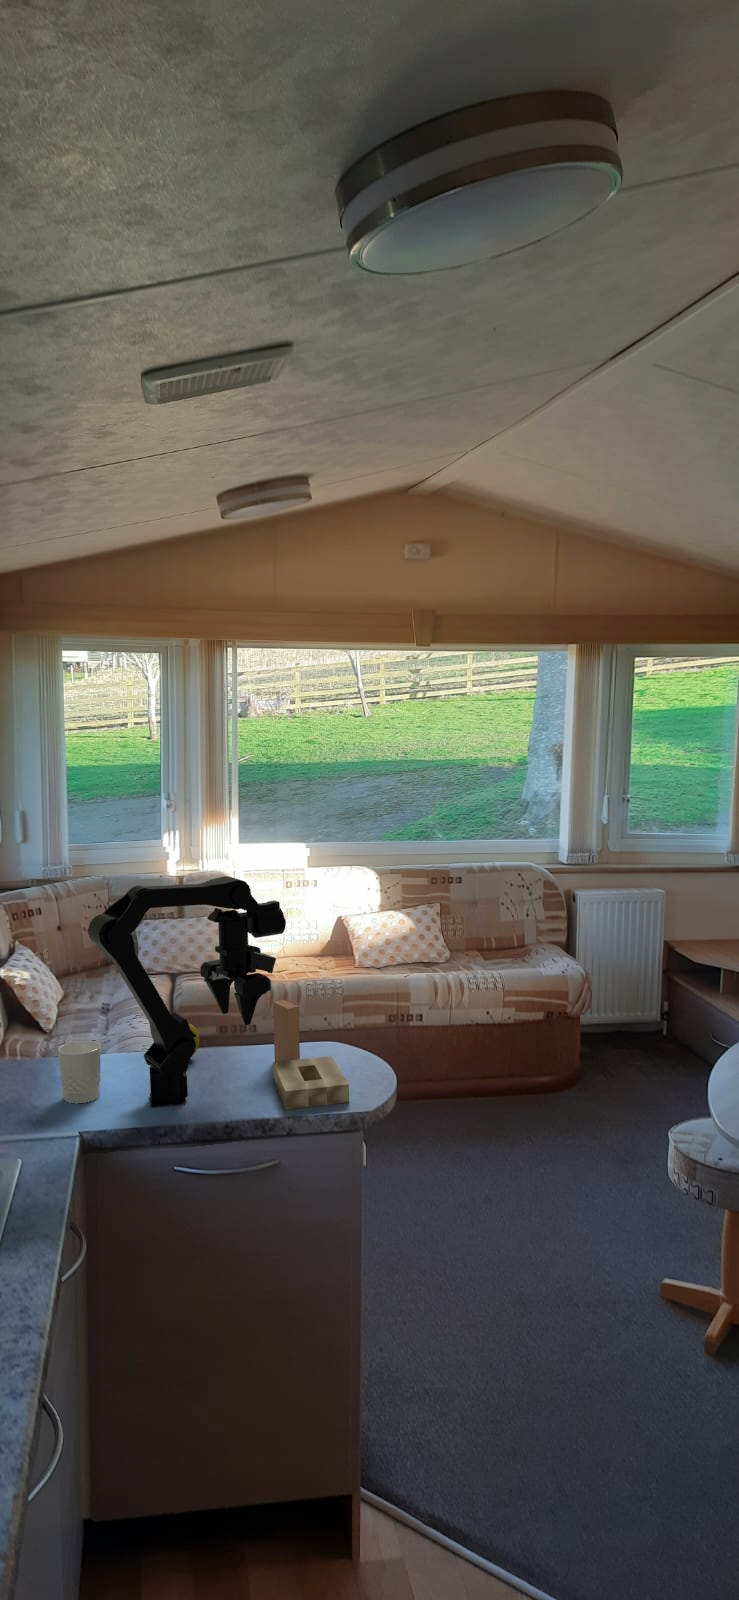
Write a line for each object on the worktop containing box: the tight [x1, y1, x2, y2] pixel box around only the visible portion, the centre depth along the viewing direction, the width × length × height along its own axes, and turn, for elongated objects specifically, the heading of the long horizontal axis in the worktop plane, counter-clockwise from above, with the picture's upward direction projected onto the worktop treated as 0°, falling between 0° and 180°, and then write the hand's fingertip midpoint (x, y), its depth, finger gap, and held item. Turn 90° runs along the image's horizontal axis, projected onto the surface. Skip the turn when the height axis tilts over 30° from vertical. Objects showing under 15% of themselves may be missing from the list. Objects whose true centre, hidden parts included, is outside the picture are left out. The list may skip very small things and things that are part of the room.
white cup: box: [57, 1040, 102, 1104], centre depth 199 cm, size 8×8×10 cm
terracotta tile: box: [272, 999, 301, 1062], centre depth 214 cm, size 2×6×13 cm, turn 36°
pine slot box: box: [272, 1055, 350, 1110], centre depth 200 cm, size 12×16×4 cm
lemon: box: [188, 1023, 200, 1054], centre depth 219 cm, size 6×6×8 cm
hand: (236, 1019), depth 204 cm, fingers open, 9 cm apart
